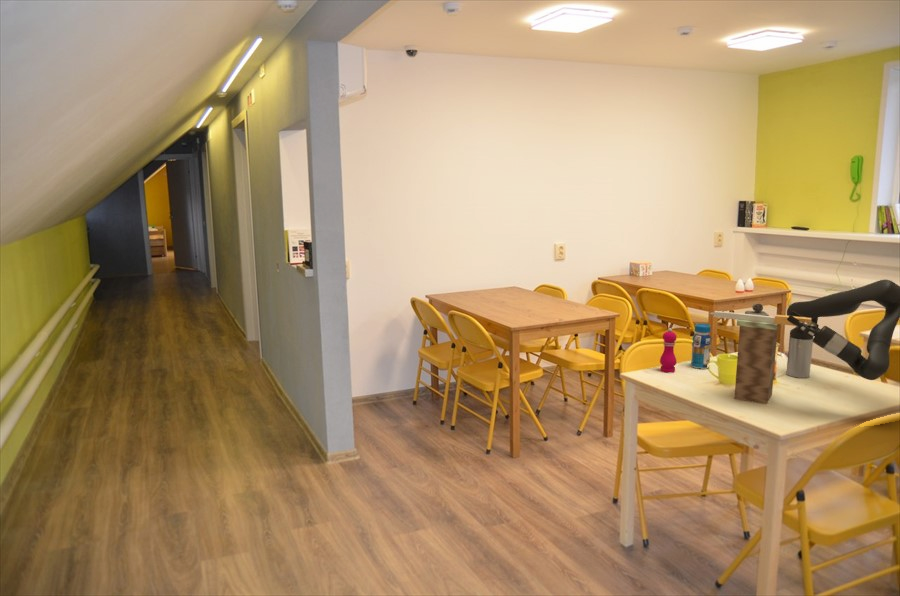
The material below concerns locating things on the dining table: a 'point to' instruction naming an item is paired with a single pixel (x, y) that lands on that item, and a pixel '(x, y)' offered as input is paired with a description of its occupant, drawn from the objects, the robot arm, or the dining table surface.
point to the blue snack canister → (701, 346)
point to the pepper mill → (668, 352)
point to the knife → (759, 318)
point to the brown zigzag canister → (755, 361)
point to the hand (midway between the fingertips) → (789, 315)
